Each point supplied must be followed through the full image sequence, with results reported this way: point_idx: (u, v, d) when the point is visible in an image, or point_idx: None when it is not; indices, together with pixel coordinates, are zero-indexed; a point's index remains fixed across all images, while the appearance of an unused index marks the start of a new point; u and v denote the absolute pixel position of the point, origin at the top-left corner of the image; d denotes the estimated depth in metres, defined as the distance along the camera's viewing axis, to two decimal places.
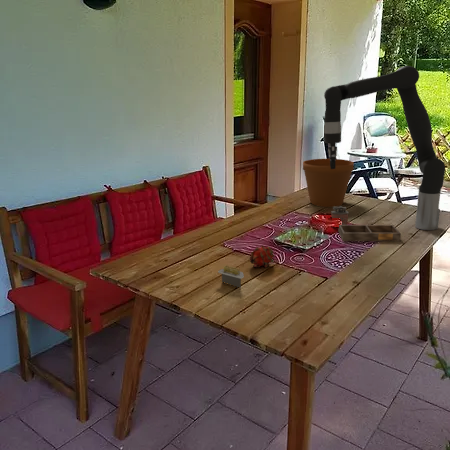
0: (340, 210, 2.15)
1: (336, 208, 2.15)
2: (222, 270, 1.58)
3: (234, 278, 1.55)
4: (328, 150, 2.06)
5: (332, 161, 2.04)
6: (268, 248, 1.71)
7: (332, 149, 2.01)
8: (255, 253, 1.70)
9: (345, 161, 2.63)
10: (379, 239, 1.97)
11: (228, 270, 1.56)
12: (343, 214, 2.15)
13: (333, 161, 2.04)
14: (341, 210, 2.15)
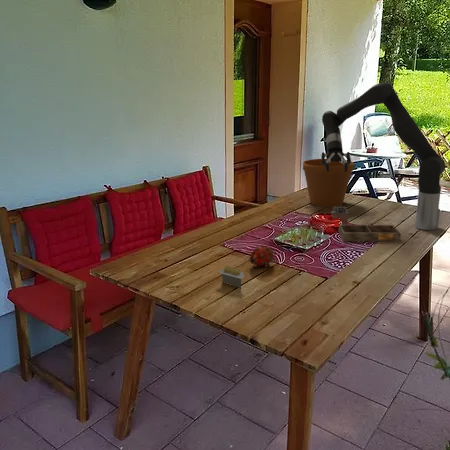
0: (340, 210, 2.15)
1: (336, 208, 2.15)
2: (222, 270, 1.58)
3: (234, 278, 1.55)
4: None
5: (325, 165, 2.26)
6: (268, 248, 1.71)
7: (321, 156, 2.29)
8: (255, 253, 1.70)
9: None
10: (379, 239, 1.97)
11: (228, 270, 1.56)
12: (343, 214, 2.15)
13: (325, 164, 2.26)
14: (341, 210, 2.15)
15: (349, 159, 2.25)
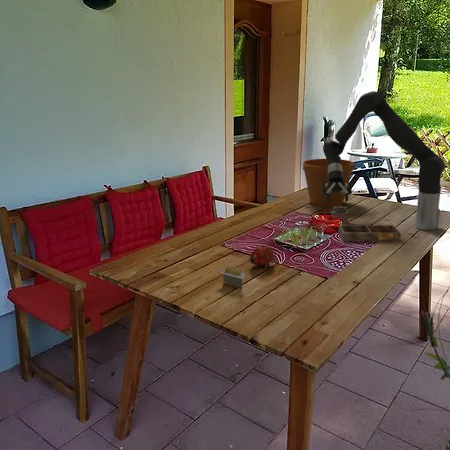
0: (340, 210, 2.15)
1: (336, 208, 2.15)
2: (223, 270, 1.58)
3: (235, 278, 1.55)
4: None
5: (326, 195, 2.25)
6: (268, 248, 1.71)
7: (322, 186, 2.28)
8: (255, 253, 1.70)
9: (345, 161, 2.63)
10: (379, 239, 1.97)
11: (229, 270, 1.56)
12: (343, 214, 2.15)
13: (326, 194, 2.25)
14: (341, 210, 2.15)
15: (350, 189, 2.24)
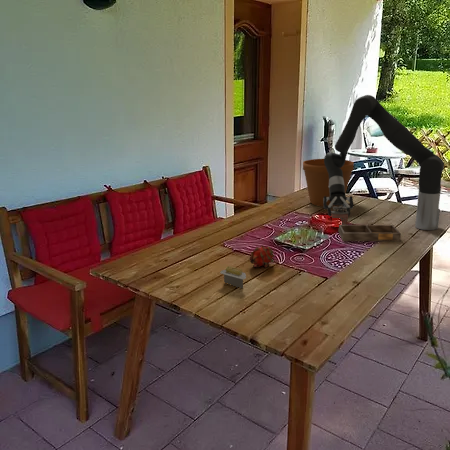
0: (340, 210, 2.15)
1: (336, 208, 2.15)
2: (224, 271, 1.57)
3: (236, 279, 1.55)
4: None
5: (327, 209, 2.20)
6: (268, 248, 1.71)
7: (323, 199, 2.23)
8: (255, 253, 1.70)
9: (345, 161, 2.63)
10: (379, 239, 1.97)
11: (230, 271, 1.55)
12: (343, 214, 2.15)
13: (327, 209, 2.20)
14: (341, 210, 2.15)
15: (352, 203, 2.19)
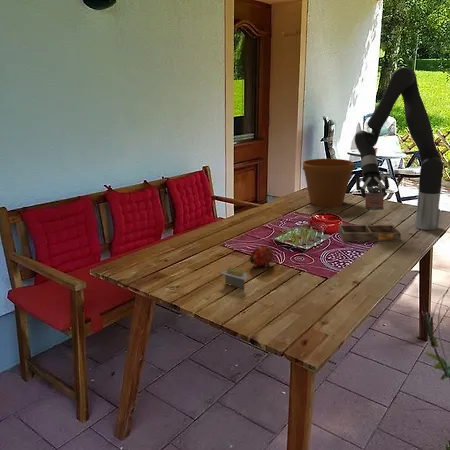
0: (375, 191, 1.99)
1: (371, 189, 2.00)
2: (226, 271, 1.57)
3: (238, 279, 1.54)
4: None
5: (361, 191, 2.05)
6: (268, 248, 1.71)
7: (356, 181, 2.07)
8: (255, 253, 1.70)
9: (345, 161, 2.63)
10: (379, 239, 1.97)
11: (232, 271, 1.55)
12: (379, 195, 1.99)
13: (361, 190, 2.04)
14: (376, 191, 1.99)
15: (387, 184, 2.03)
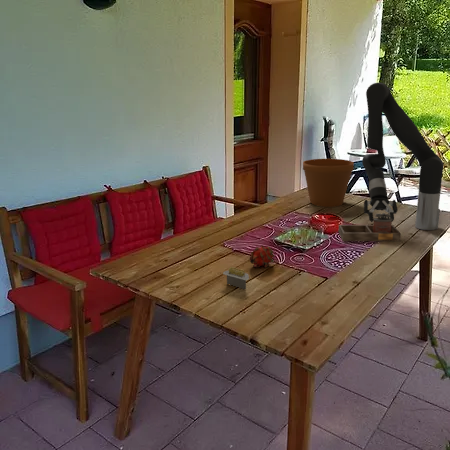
0: (383, 217, 1.99)
1: (379, 215, 1.99)
2: (227, 271, 1.57)
3: (239, 280, 1.54)
4: None
5: (368, 214, 2.04)
6: (268, 248, 1.71)
7: (364, 204, 2.07)
8: (255, 253, 1.70)
9: (345, 161, 2.63)
10: (379, 239, 1.97)
11: (233, 271, 1.55)
12: (387, 222, 1.99)
13: (369, 214, 2.04)
14: (384, 217, 1.99)
15: (395, 208, 2.03)
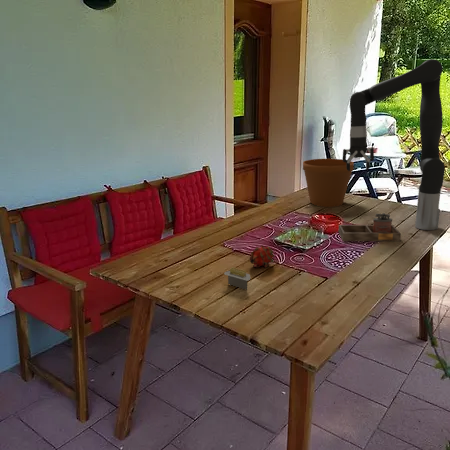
0: (383, 217, 1.99)
1: (379, 215, 2.00)
2: (228, 272, 1.56)
3: (240, 280, 1.53)
4: None
5: (346, 163, 2.17)
6: (268, 248, 1.71)
7: (343, 152, 2.15)
8: (255, 253, 1.70)
9: None
10: (379, 239, 1.97)
11: (234, 272, 1.54)
12: (387, 221, 1.99)
13: (346, 163, 2.16)
14: (384, 217, 1.99)
15: (372, 157, 2.13)
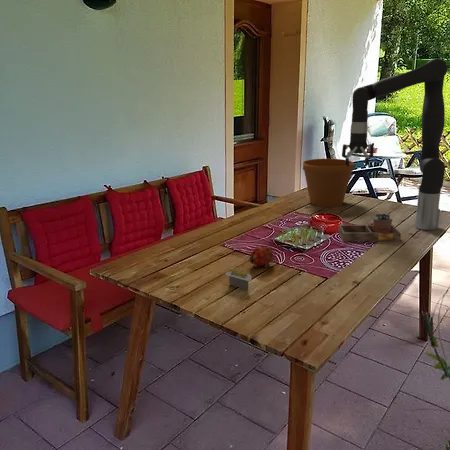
0: (383, 217, 1.99)
1: (379, 215, 2.00)
2: (229, 272, 1.56)
3: (241, 280, 1.53)
4: None
5: None
6: (268, 248, 1.71)
7: (343, 147, 2.14)
8: (255, 253, 1.70)
9: None
10: (379, 239, 1.97)
11: (235, 272, 1.54)
12: (387, 221, 1.99)
13: None
14: (384, 217, 1.99)
15: (372, 154, 2.13)
